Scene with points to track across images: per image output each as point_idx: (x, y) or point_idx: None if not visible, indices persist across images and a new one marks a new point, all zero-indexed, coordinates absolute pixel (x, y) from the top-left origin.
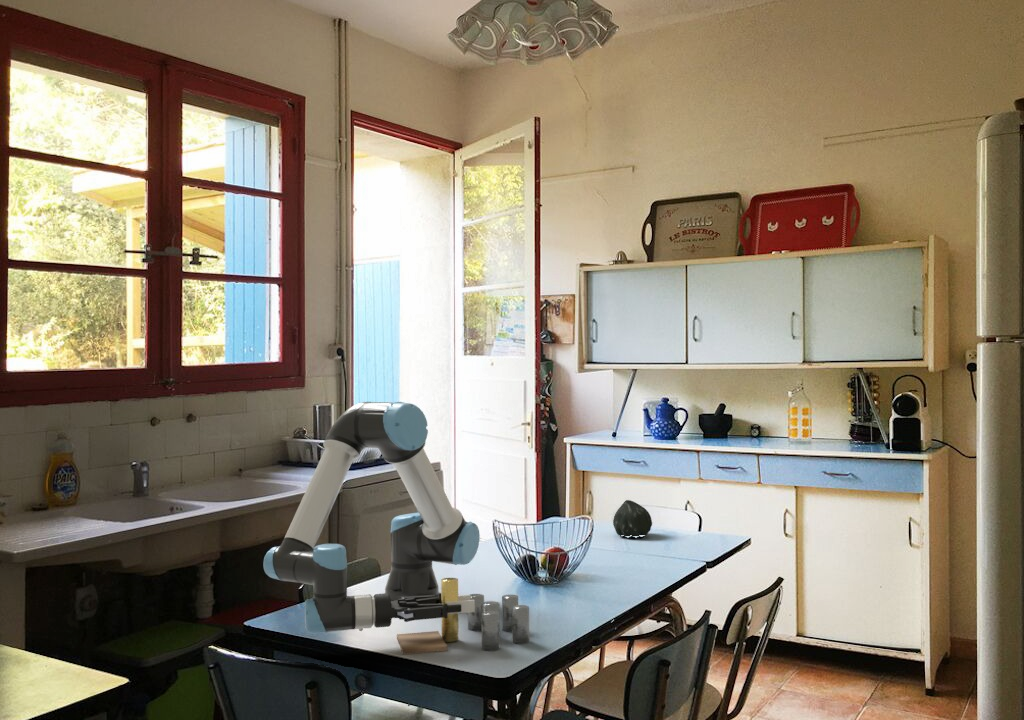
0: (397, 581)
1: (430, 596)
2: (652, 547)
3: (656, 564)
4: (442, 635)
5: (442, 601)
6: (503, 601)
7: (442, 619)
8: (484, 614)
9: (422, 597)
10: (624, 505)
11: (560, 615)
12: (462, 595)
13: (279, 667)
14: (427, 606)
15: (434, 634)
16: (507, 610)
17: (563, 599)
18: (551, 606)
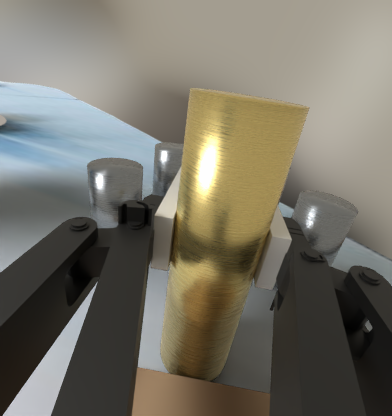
0: None
1: (70, 254)
2: (3, 90)
3: (50, 102)
4: (203, 372)
5: (238, 246)
6: (176, 162)
7: (217, 323)
8: (345, 213)
9: (21, 309)
10: None
11: (141, 164)
12: (177, 176)
13: None
14: (349, 376)
15: (136, 396)
16: None
17: (76, 144)
18: (92, 156)
